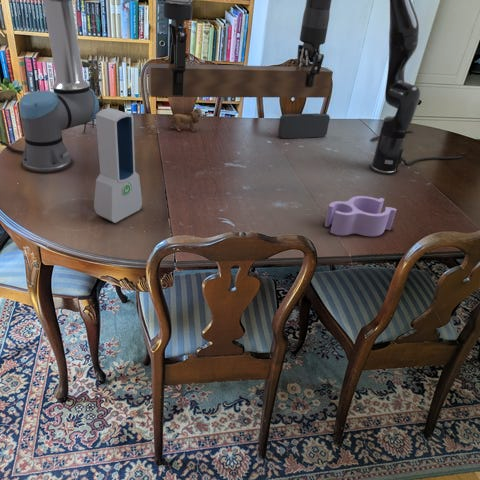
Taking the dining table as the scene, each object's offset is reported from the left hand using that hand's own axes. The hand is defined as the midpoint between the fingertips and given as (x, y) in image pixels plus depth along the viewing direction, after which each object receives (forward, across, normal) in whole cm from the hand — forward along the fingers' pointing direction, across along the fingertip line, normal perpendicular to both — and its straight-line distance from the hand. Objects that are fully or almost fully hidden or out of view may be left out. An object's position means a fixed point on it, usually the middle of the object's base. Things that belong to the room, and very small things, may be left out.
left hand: (176, 91), depth 134 cm
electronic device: (+32, -12, +18) cm, 39 cm away
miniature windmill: (+33, +55, +21) cm, 68 cm away
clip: (+32, -30, -51) cm, 67 cm away
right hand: (-3, 0, -40) cm, 40 cm away
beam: (+1, 0, -20) cm, 20 cm away
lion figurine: (+32, +56, -15) cm, 66 cm away
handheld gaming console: (+32, +44, -65) cm, 85 cm away
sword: (+32, +43, -110) cm, 122 cm away
